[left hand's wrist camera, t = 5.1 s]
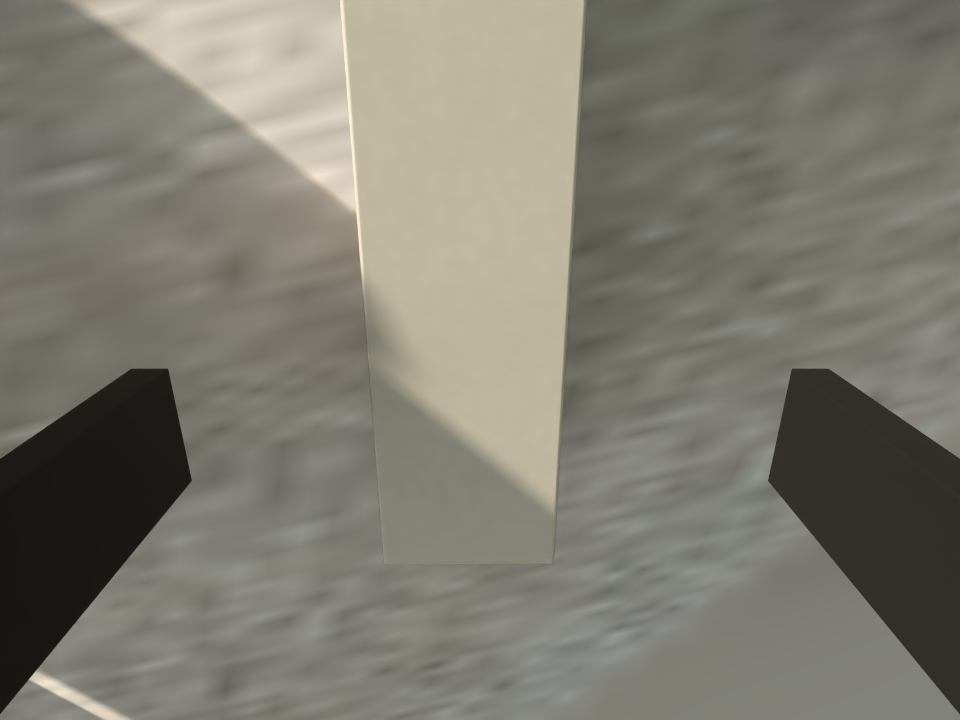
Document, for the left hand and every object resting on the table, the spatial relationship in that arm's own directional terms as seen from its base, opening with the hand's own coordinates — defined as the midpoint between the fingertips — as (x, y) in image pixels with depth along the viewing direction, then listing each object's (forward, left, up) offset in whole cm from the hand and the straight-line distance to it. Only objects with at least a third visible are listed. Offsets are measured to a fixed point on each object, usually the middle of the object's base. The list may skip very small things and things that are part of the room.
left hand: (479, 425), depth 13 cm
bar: (+2, +24, -8) cm, 26 cm away
